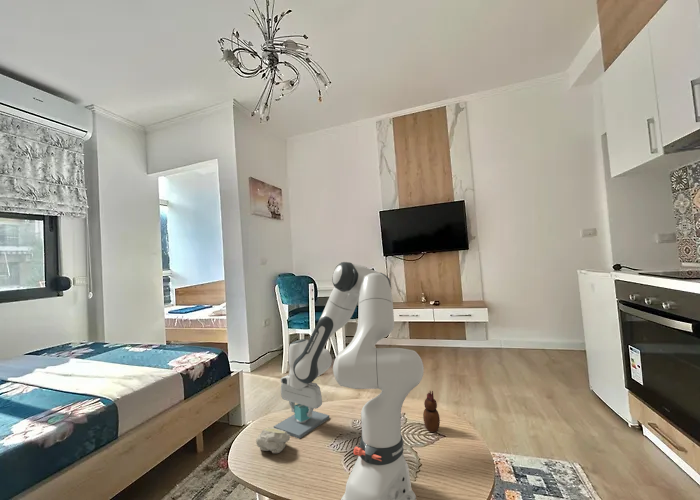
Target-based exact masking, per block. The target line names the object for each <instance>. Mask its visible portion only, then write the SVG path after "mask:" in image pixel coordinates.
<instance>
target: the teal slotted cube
mask: <svg viewBox="0 0 700 500" xmlns="http://www.w3.org/2000/svg"><path fill="white" fill-rule="evenodd" d="M294 410H295V413H294V414H295V418H296V419H297V420H299V421H300V422H302V421H304V420H307V419H309V418H311V417H307V412H308V411H309V409H308V406H304V405H301V404H297V403H296V404H295V405H294Z"/></svg>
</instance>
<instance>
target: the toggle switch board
mask: <svg viewBox="0 0 700 500" xmlns="http://www.w3.org/2000/svg"><path fill="white" fill-rule="evenodd" d="M329 419H330V415H328V414H326V413H322V412H319V411H316V410H313V411H312V417H311V418H309V419H307V420H304V421H302V422H300V421H299V420H297V419H296V418H295V413H293V415H291V416H289V417H287V418H285V419H284V420H281V422H278V423H277V424H275V425H273V428H276V429H280V430H283V431H286V432H287V434H289V435H290V437H293V438H295V439H298V440H300V439H301V438H303V437H304V436H306V435H307V434H309V433H310V432H311V431H313V430H314V429H316V428H317V427H319V426H321V425H322V424H324V423H325V422H326V421H328V420H329Z"/></svg>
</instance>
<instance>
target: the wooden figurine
mask: <svg viewBox="0 0 700 500" xmlns="http://www.w3.org/2000/svg"><path fill="white" fill-rule="evenodd" d="M434 397H435V396H434V391H433V390H432V391H431V390H429V392H428V393H427V394H426V398H425V399H424V401H423V403H424V404H423V405H424V410H423V415H422V416H423V417H422V419H423V422H424V426H425V429H426V430H427V431H428V432H430V433H436V432H437V431H439V429H440V424H441V423H440V421H441V419H440V418H441V417H440V414H439V411H438V410H437V408H438V404H437V401H436V399H435V398H434Z"/></svg>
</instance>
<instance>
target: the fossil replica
mask: <svg viewBox="0 0 700 500" xmlns="http://www.w3.org/2000/svg"><path fill="white" fill-rule="evenodd" d="M290 440H291V436H290V435H289V434H287V432H286V431H283V430H280V429H276V428H274V427H268V428H266V427H265V428H263V429H262V430H261V432H260V433H259V434H258V436H257V437H256V440H255V443H256V445H257V447H258V448H259V449H260V450H261V451H263V452H264V451H266V452H268V451H270V452H271V453H272V454H276V455H277V454H280V453H281V452H282V451H283V450H284V449H285V447H286V443H288V442H289V441H290Z"/></svg>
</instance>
